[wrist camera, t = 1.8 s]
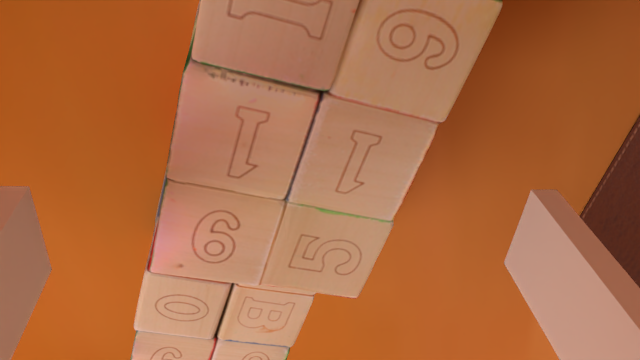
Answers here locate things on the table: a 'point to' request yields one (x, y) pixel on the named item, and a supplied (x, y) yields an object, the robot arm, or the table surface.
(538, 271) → the robot arm
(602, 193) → the letter holder
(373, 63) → the stack of blocks
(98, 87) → the table surface
